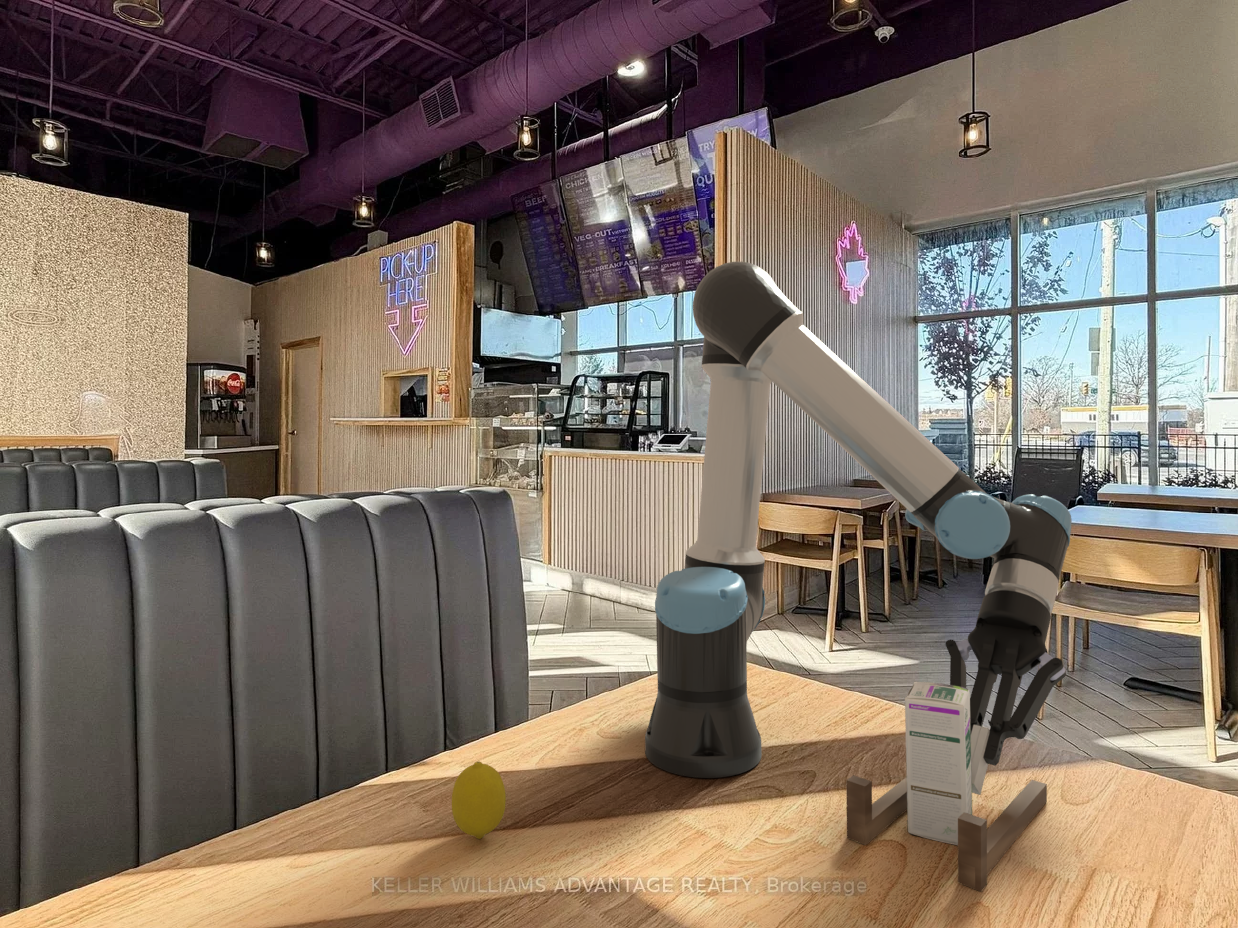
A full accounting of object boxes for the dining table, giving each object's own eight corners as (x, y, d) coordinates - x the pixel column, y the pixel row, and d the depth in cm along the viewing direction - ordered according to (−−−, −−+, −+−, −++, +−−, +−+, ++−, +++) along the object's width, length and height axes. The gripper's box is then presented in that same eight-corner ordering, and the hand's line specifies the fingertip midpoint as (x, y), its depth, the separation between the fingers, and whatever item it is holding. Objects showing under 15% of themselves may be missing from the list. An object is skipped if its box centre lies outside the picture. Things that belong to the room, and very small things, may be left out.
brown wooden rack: (846, 837, 75) (846, 779, 74) (933, 767, 90) (933, 719, 90) (981, 891, 65) (980, 825, 65) (1051, 802, 81) (1051, 749, 81)
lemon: (460, 858, 72) (458, 778, 72) (446, 832, 77) (444, 757, 77) (514, 843, 75) (512, 766, 74) (497, 819, 79) (495, 746, 79)
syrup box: (968, 848, 72) (967, 704, 72) (905, 833, 75) (904, 694, 75) (973, 822, 77) (972, 686, 77) (913, 809, 80) (912, 678, 80)
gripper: (1084, 631, 87) (1045, 823, 76) (968, 614, 96) (918, 783, 85) (1072, 594, 83) (1029, 791, 72) (953, 580, 92) (899, 753, 81)
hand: (969, 786), depth 78 cm, fingers closed
